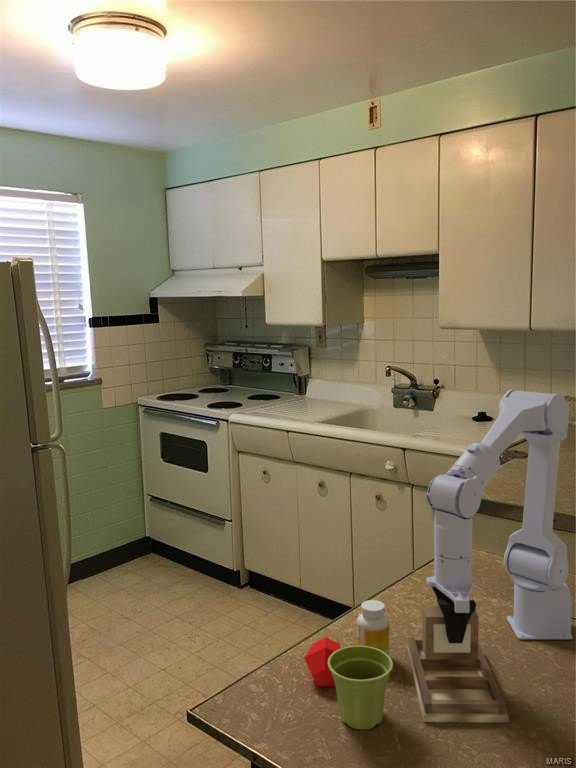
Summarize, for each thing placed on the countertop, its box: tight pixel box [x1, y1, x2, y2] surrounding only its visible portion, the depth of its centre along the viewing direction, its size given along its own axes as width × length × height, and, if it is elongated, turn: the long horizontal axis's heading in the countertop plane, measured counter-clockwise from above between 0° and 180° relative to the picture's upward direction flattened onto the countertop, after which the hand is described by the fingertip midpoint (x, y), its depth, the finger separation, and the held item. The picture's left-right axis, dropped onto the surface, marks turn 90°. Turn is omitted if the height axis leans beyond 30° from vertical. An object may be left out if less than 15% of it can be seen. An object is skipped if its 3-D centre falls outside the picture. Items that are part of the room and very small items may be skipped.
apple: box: [303, 636, 342, 688], centre depth 107 cm, size 7×7×8 cm
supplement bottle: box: [356, 599, 390, 656], centre depth 112 cm, size 5×5×10 cm
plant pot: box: [328, 645, 394, 730], centre depth 96 cm, size 9×9×9 cm
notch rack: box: [406, 636, 509, 724], centre depth 105 cm, size 12×20×2 cm, turn 177°
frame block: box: [422, 605, 479, 660], centre depth 104 cm, size 8×4×7 cm, turn 87°
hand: (452, 635), depth 104 cm, fingers closed on frame block, 3 cm apart
